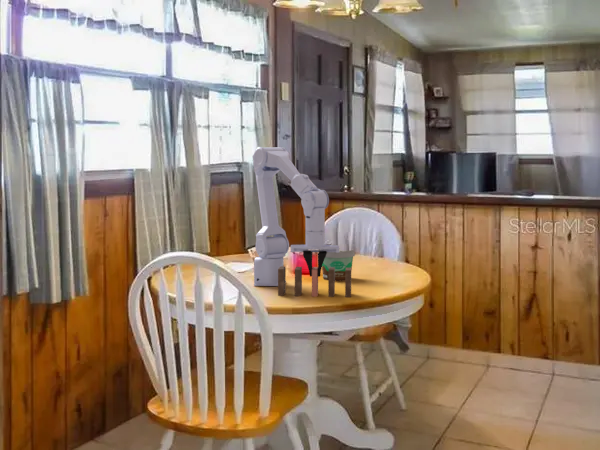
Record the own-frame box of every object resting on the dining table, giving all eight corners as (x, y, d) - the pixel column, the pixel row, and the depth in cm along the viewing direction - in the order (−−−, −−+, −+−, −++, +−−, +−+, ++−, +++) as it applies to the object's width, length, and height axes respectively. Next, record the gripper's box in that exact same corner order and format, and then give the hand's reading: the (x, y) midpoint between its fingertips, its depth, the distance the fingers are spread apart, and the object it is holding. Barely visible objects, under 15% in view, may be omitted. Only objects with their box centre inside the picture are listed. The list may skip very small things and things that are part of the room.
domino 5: (345, 297, 210) (345, 270, 209) (345, 293, 215) (346, 267, 214) (350, 297, 210) (350, 270, 209) (351, 293, 215) (351, 267, 214)
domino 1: (278, 295, 212) (278, 269, 211) (280, 292, 217) (280, 266, 216) (283, 295, 212) (283, 269, 211) (285, 292, 217) (285, 266, 216)
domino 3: (311, 296, 211) (311, 269, 210) (312, 293, 216) (312, 267, 215) (317, 296, 211) (317, 269, 210) (318, 293, 216) (318, 267, 215)
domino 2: (294, 295, 211) (294, 269, 210) (296, 292, 216) (296, 266, 215) (300, 296, 211) (300, 269, 210) (301, 292, 216) (301, 266, 215)
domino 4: (328, 296, 210) (328, 270, 209) (329, 293, 215) (329, 267, 214) (333, 296, 210) (333, 270, 209) (334, 293, 215) (334, 267, 214)
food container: (323, 282, 233) (323, 252, 232) (318, 279, 239) (319, 249, 238) (359, 281, 235) (359, 251, 234) (354, 277, 241) (354, 248, 240)
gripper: (289, 232, 208) (289, 277, 209) (338, 232, 206) (338, 278, 208) (292, 229, 215) (292, 273, 216) (339, 230, 213) (339, 274, 215)
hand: (315, 276), depth 213 cm, fingers closed on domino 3, 2 cm apart
